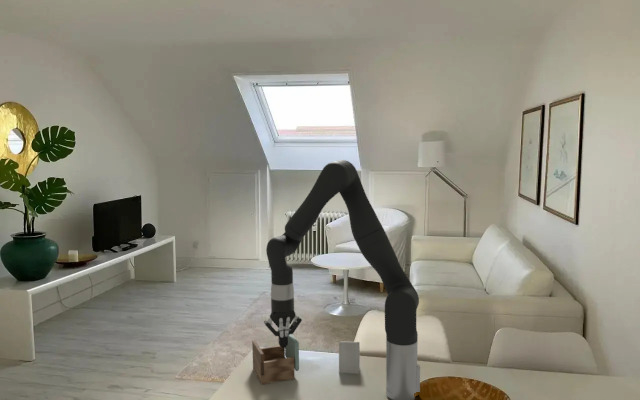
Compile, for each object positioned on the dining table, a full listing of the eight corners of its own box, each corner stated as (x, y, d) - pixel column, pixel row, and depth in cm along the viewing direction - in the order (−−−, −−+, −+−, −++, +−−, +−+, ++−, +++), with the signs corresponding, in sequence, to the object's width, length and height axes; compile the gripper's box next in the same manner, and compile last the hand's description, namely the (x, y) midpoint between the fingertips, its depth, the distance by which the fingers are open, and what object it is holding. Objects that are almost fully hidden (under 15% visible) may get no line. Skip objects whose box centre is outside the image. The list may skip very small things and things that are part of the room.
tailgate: (288, 356, 176) (288, 329, 175) (299, 370, 165) (298, 342, 164) (285, 357, 176) (284, 330, 175) (295, 371, 165) (295, 342, 164)
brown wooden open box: (284, 364, 176) (283, 336, 175) (294, 378, 165) (294, 349, 164) (253, 369, 172) (252, 340, 171) (261, 384, 161) (260, 354, 160)
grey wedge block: (359, 373, 168) (359, 344, 167) (339, 372, 169) (338, 343, 168) (359, 368, 172) (359, 340, 171) (339, 367, 172) (339, 339, 171)
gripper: (265, 301, 161) (266, 354, 163) (305, 296, 166) (305, 348, 167) (260, 295, 168) (261, 345, 170) (298, 290, 173) (298, 340, 174)
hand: (283, 346), depth 169 cm, fingers closed
